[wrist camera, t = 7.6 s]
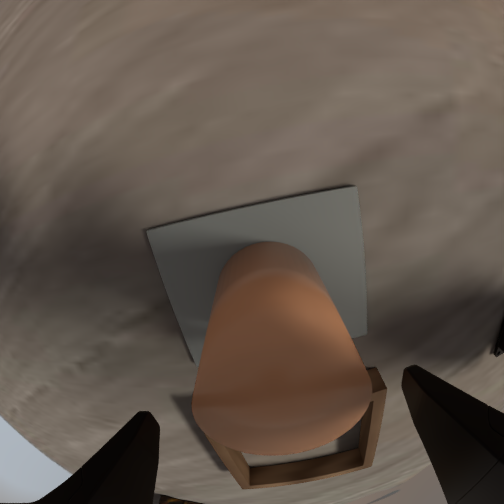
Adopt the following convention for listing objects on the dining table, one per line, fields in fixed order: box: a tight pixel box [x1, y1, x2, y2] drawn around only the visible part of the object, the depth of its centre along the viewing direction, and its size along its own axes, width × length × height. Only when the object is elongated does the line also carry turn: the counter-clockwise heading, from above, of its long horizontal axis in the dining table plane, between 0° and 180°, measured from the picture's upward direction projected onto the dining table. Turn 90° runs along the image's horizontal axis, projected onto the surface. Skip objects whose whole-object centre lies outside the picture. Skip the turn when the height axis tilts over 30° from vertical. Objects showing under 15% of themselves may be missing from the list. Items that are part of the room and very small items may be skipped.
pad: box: [146, 185, 367, 367], centre depth 17 cm, size 12×10×1 cm
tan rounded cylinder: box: [191, 242, 372, 455], centre depth 13 cm, size 6×8×9 cm
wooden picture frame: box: [204, 368, 387, 489], centre depth 21 cm, size 14×14×2 cm
